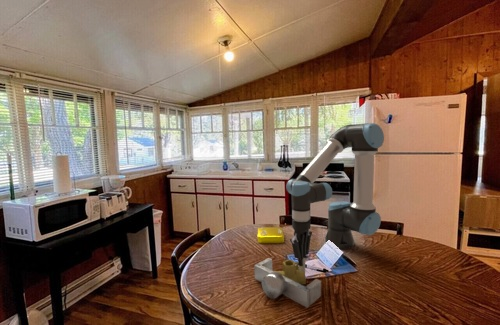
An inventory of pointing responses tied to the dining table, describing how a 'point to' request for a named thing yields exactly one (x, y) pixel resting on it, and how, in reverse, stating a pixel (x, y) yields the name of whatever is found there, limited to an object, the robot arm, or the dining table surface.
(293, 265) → the brass pipe tee
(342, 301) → the dining table surface
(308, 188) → the robot arm
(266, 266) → the grey bracket with knob
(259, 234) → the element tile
